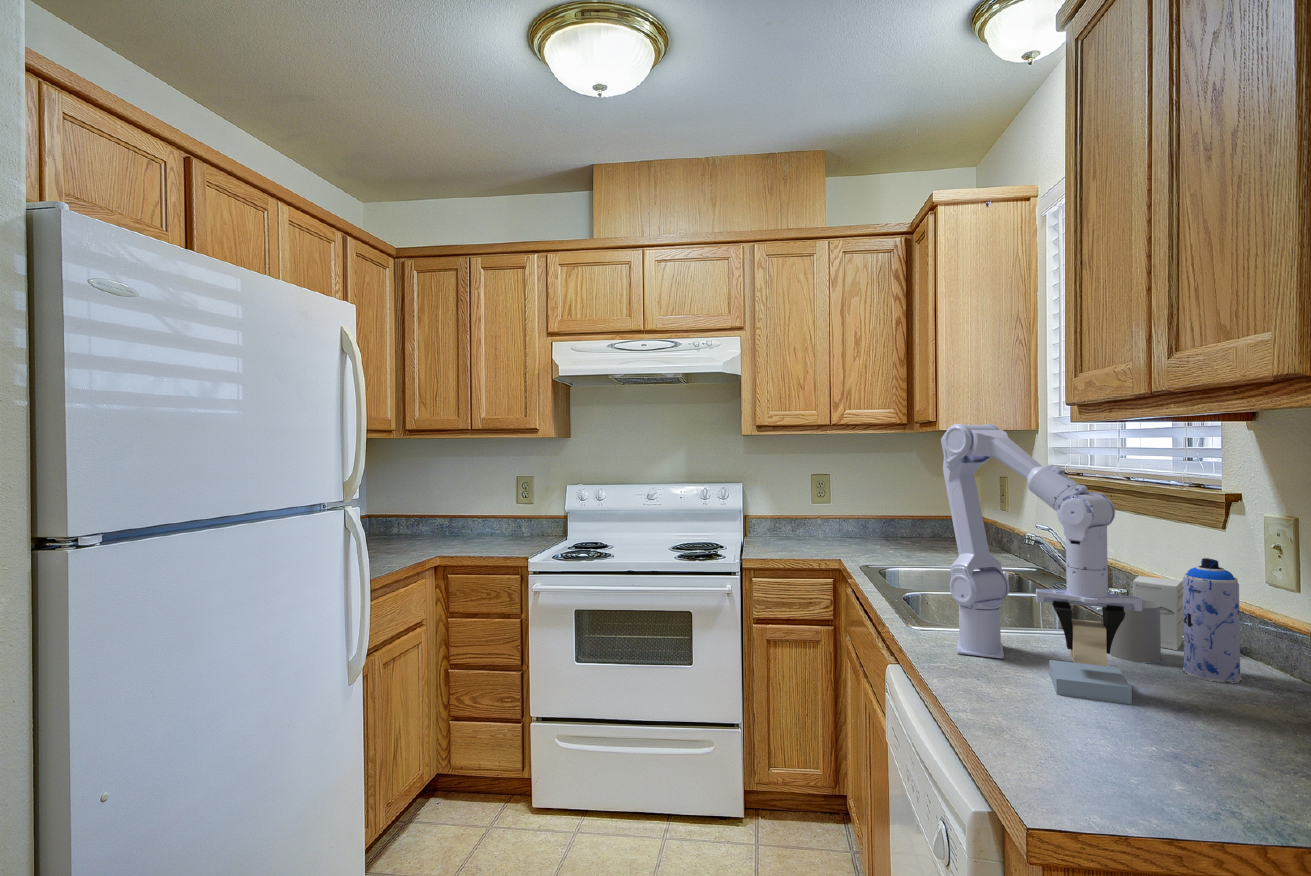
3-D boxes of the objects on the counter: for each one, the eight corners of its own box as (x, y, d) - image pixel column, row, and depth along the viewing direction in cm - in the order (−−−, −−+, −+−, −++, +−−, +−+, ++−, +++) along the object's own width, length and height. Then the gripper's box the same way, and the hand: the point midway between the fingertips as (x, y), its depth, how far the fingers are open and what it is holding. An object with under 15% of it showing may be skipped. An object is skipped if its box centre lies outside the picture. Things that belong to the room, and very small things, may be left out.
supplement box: (1131, 643, 133) (1130, 580, 133) (1139, 635, 138) (1138, 574, 138) (1178, 651, 127) (1177, 585, 127) (1184, 642, 133) (1183, 579, 133)
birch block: (1070, 654, 112) (1069, 618, 112) (1102, 657, 110) (1101, 621, 110) (1073, 662, 108) (1073, 625, 108) (1106, 666, 106) (1106, 628, 106)
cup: (1163, 665, 120) (1162, 610, 120) (1107, 658, 124) (1107, 604, 124) (1157, 652, 127) (1156, 600, 127) (1105, 646, 131) (1104, 595, 131)
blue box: (1049, 677, 116) (1049, 659, 116) (1118, 685, 112) (1117, 667, 112) (1056, 697, 107) (1056, 678, 107) (1131, 707, 102) (1131, 687, 103)
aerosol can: (1178, 664, 120) (1176, 554, 120) (1234, 671, 116) (1232, 557, 116) (1188, 678, 113) (1186, 561, 113) (1248, 686, 109) (1246, 564, 109)
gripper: (1037, 568, 109) (1038, 650, 109) (1145, 575, 102) (1147, 663, 102) (1034, 560, 115) (1035, 639, 115) (1136, 567, 109) (1137, 649, 109)
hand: (1087, 649), depth 109 cm, fingers closed on birch block, 4 cm apart
